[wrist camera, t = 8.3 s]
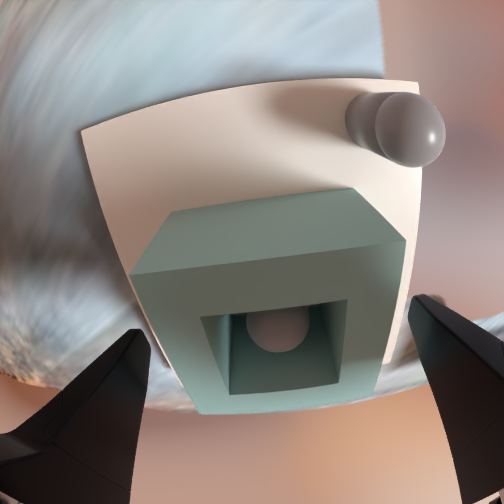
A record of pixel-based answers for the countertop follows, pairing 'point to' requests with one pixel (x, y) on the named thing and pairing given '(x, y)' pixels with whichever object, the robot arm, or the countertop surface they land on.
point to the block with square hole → (273, 298)
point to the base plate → (267, 165)
